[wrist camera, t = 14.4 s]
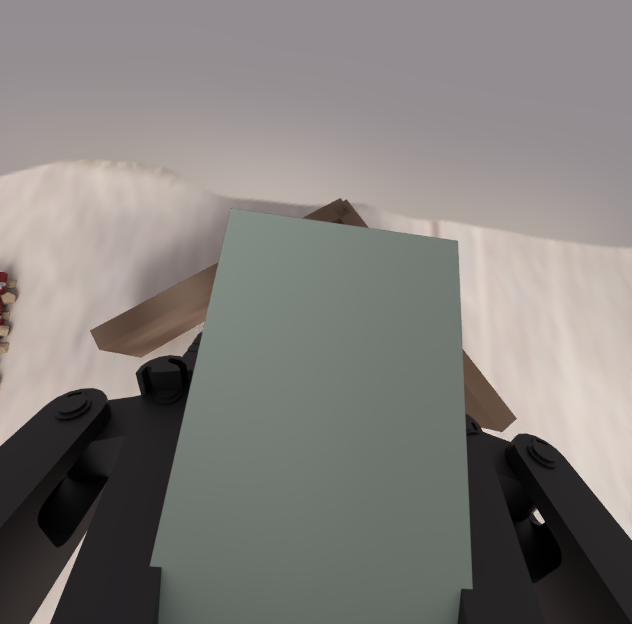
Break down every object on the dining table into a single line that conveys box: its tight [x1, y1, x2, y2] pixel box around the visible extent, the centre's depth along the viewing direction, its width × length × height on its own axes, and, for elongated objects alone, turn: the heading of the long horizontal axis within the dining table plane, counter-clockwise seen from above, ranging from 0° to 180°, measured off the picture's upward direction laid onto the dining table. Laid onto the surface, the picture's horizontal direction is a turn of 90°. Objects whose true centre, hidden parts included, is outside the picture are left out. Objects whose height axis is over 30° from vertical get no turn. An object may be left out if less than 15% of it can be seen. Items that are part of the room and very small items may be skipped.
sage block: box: [150, 208, 473, 624], centre depth 11 cm, size 5×7×12 cm
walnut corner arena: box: [90, 199, 517, 432], centre depth 17 cm, size 17×17×4 cm
